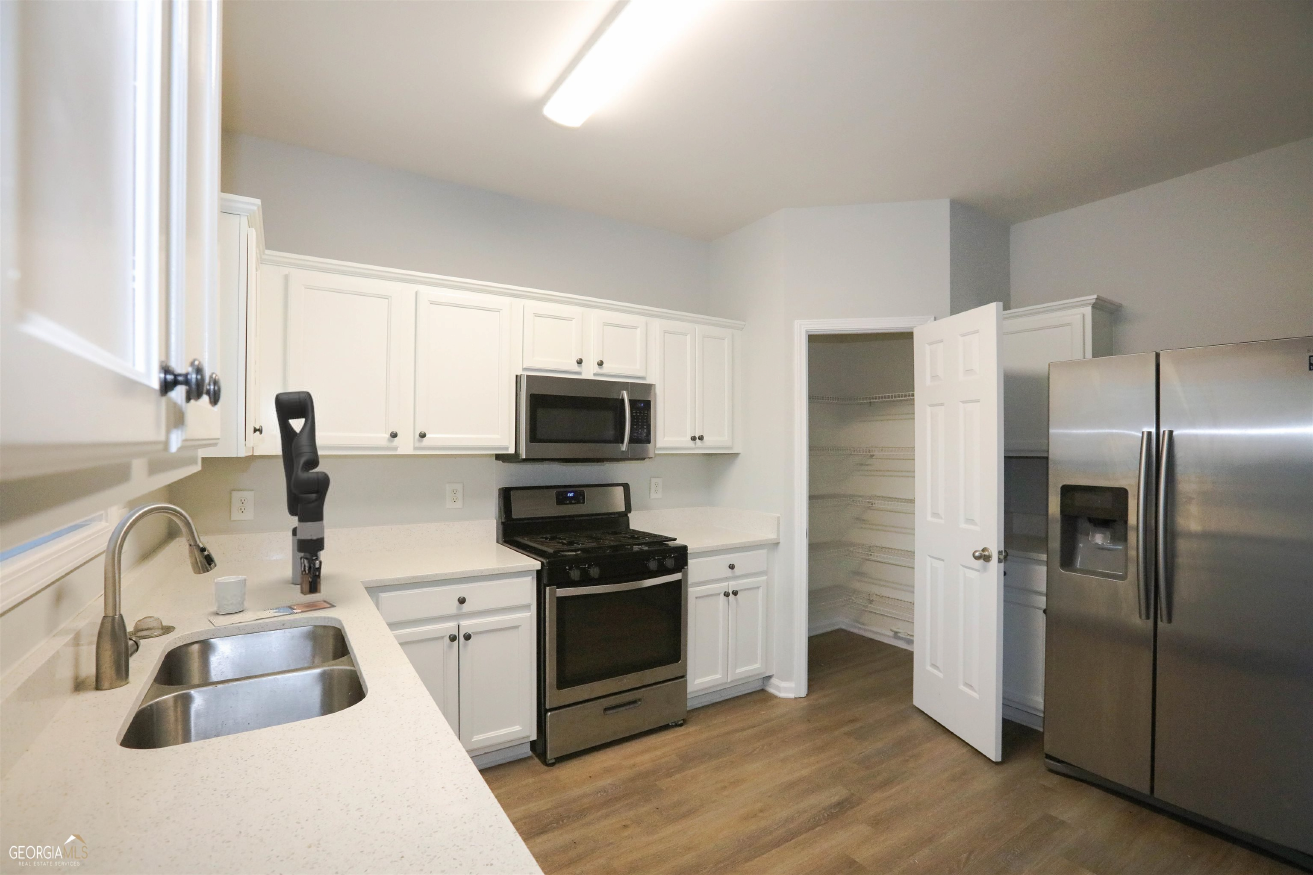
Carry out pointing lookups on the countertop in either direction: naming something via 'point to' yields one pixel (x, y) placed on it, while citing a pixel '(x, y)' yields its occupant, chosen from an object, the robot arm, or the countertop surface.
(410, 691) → the countertop surface
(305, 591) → the walnut block
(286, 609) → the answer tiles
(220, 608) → the white cup
